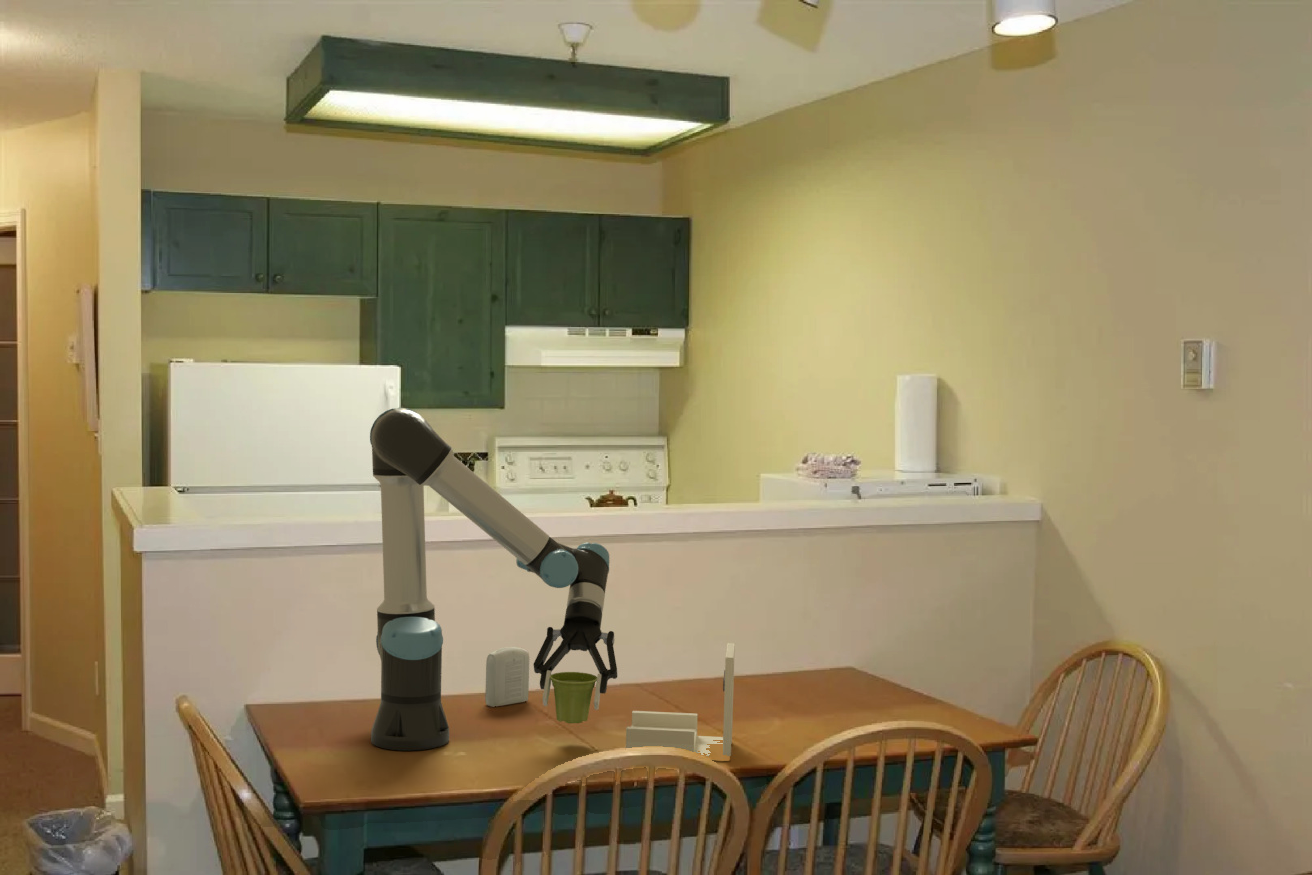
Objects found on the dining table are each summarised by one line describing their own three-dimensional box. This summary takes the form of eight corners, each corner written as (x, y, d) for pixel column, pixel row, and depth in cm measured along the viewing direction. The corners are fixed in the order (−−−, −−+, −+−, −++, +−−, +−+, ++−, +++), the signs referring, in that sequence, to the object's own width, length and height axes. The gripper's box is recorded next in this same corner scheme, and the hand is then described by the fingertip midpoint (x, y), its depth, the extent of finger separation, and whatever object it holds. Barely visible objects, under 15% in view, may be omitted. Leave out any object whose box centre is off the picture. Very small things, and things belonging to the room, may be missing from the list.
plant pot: (552, 726, 273) (555, 682, 272) (543, 714, 282) (546, 671, 281) (599, 725, 275) (602, 682, 275) (589, 713, 284) (591, 671, 284)
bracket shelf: (632, 737, 283) (634, 639, 282) (731, 742, 282) (734, 643, 280) (625, 756, 269) (628, 653, 268) (730, 761, 268) (733, 657, 267)
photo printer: (519, 697, 314) (520, 643, 313) (531, 701, 311) (532, 646, 310) (482, 704, 307) (483, 648, 306) (494, 708, 304) (495, 651, 303)
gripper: (638, 624, 292) (627, 718, 277) (532, 617, 294) (516, 710, 279) (637, 602, 287) (625, 697, 272) (530, 596, 288) (512, 689, 273)
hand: (570, 704), depth 275 cm, fingers closed on plant pot, 9 cm apart
